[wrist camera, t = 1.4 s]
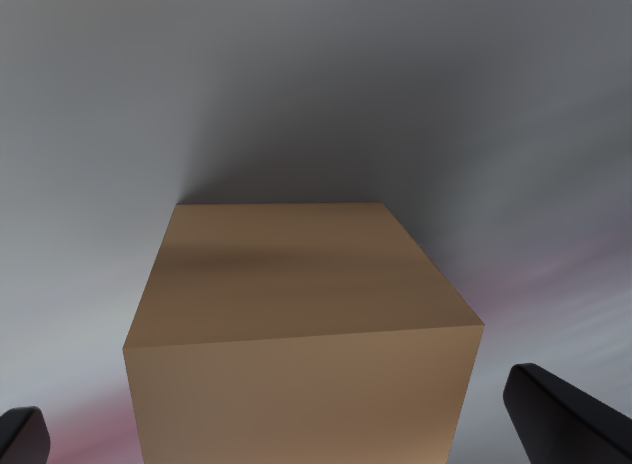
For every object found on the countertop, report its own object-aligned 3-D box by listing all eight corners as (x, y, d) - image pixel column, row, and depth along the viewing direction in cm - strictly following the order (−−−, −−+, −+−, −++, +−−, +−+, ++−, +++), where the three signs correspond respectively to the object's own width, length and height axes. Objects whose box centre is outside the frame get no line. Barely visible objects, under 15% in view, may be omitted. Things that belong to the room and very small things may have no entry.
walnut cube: (361, 354, 13) (427, 527, 8) (192, 367, 12) (163, 568, 7) (381, 201, 11) (484, 325, 6) (176, 203, 10) (122, 348, 5)
